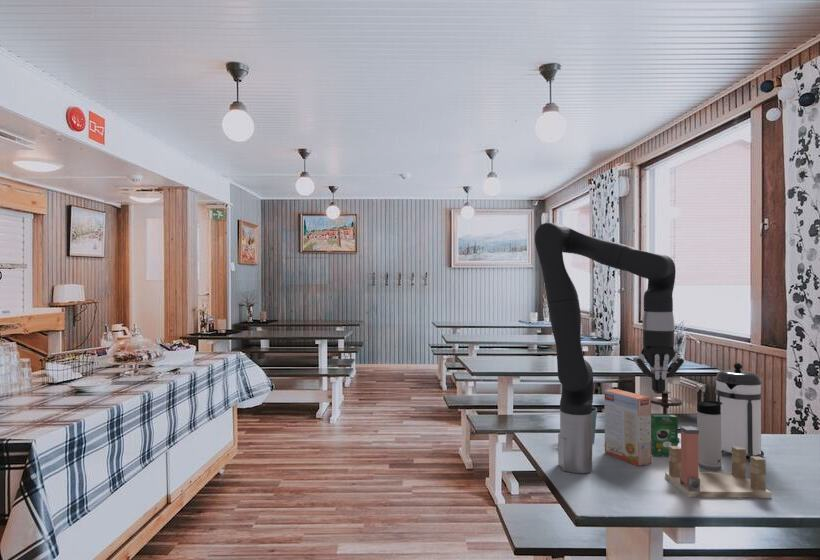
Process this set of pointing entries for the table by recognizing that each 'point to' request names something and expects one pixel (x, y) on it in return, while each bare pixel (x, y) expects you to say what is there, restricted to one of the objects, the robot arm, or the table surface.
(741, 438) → the coffee press
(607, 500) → the table surface
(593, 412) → the drinking glass
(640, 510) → the table surface
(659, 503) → the table surface
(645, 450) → the cracker box
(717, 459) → the travel mug
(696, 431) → the folding leg
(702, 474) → the stool seat
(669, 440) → the coffee box
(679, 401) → the candlestick
